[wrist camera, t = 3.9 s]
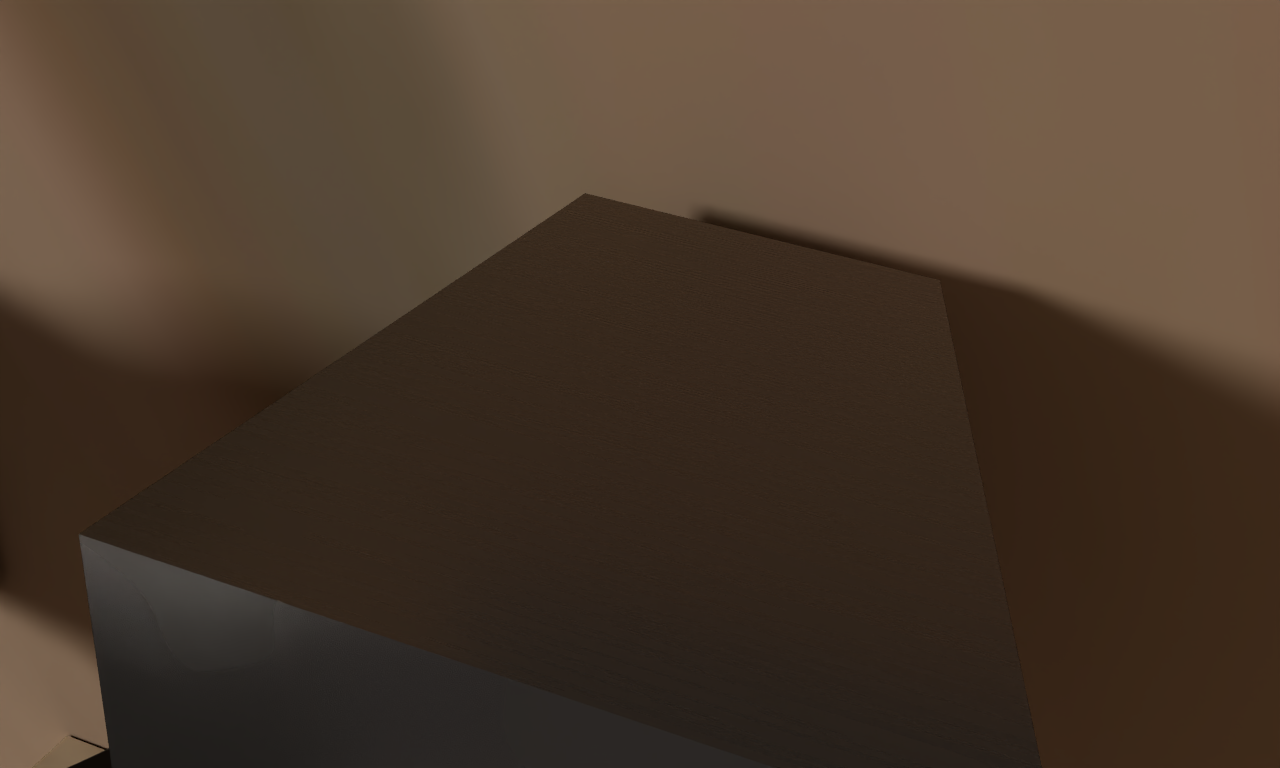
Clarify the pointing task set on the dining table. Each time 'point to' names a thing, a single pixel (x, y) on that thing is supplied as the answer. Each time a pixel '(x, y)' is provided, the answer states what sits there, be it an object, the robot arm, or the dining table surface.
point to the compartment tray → (67, 754)
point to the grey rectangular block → (584, 531)
